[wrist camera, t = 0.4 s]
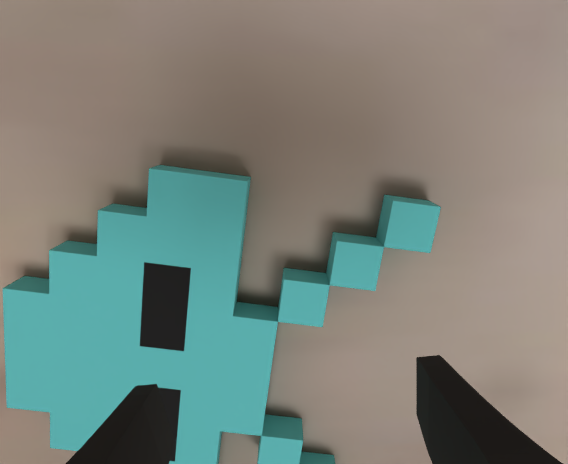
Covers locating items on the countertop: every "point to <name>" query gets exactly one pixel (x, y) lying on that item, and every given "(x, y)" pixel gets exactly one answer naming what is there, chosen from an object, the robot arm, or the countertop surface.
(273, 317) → the alien figure
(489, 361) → the countertop surface
